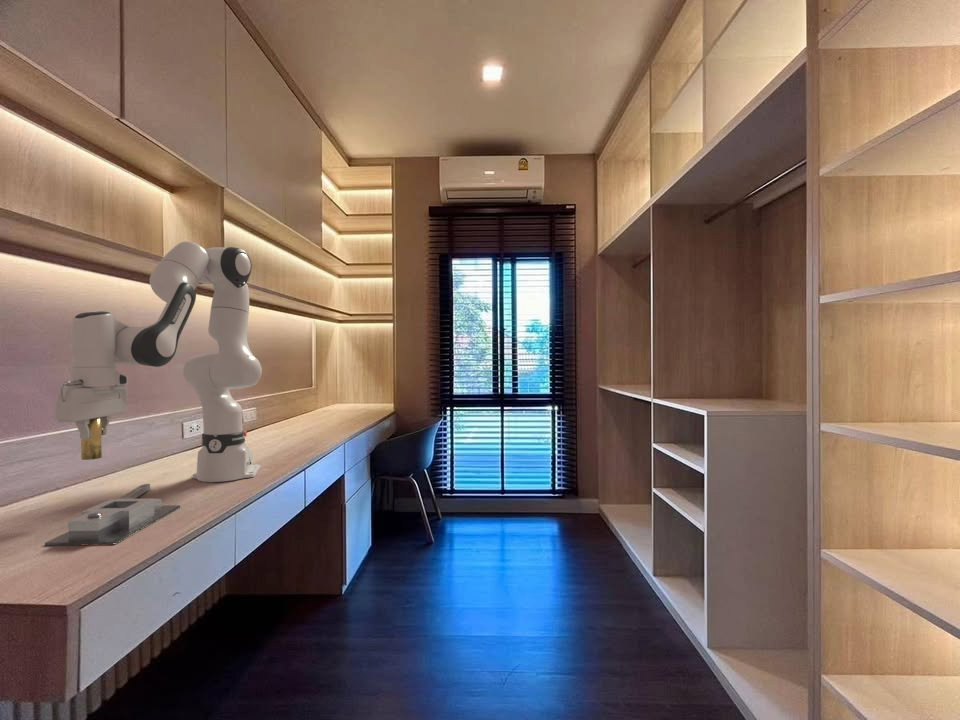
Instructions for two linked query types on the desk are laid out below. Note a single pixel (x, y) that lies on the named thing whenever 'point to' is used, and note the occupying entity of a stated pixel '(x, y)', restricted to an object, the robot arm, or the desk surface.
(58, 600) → the desk surface
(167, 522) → the desk surface
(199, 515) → the desk surface
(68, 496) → the desk surface
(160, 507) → the sliding bolt latch
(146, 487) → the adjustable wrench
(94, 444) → the brass pin
